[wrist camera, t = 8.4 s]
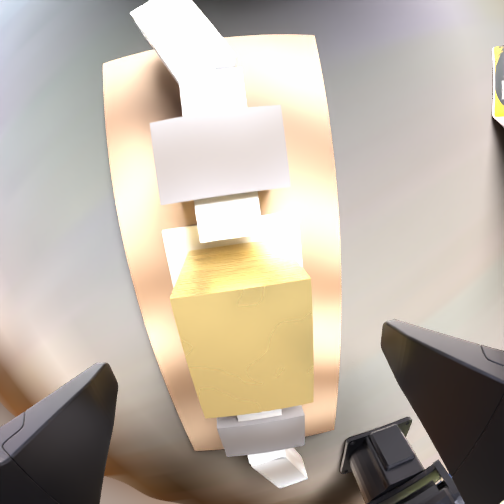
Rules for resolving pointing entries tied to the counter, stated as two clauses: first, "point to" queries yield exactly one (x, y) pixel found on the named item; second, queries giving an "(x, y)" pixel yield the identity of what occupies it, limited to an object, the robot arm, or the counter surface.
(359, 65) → the counter surface
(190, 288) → the block
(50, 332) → the counter surface
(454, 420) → the robot arm
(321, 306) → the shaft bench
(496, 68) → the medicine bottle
